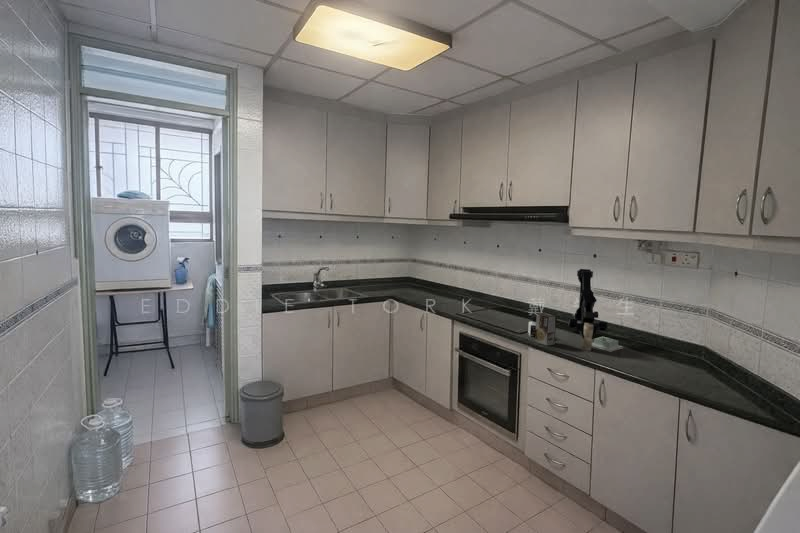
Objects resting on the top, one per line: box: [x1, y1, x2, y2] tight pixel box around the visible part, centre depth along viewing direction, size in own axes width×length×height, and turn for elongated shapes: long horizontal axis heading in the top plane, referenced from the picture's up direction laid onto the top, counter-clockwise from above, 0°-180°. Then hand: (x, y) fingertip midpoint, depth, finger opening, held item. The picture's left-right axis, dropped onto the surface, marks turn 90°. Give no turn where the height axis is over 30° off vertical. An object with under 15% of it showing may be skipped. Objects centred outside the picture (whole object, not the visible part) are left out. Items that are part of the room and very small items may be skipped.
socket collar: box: [591, 336, 624, 353], centre depth 218 cm, size 12×12×4 cm
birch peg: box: [581, 323, 594, 352], centre depth 212 cm, size 4×4×14 cm
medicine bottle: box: [527, 314, 537, 337], centre depth 235 cm, size 7×7×12 cm
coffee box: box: [534, 312, 558, 346], centre depth 221 cm, size 9×6×16 cm
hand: (587, 338), depth 210 cm, fingers closed on birch peg, 4 cm apart
